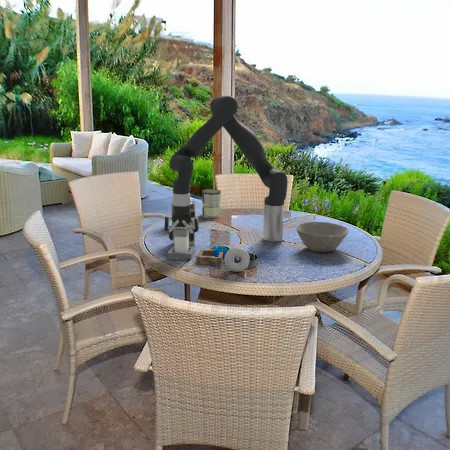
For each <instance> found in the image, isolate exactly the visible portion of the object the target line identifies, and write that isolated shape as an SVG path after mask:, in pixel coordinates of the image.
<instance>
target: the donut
mask: <svg viewBox="0 0 450 450" xmlns="http://www.w3.org/2000/svg"><path fill="white" fill-rule="evenodd" d="M234 257H239V258H240V262H238V263H237V262H235V261H234V260H233V259H234ZM223 260H224V264H225V266H226V268H227V269H228V270H230V271H232V272H236V273H238V272H242V271H244V270H246V269H247V267H249V264H250V261H251V260H250V255H249V253H248V251H247V250H246V249H245V248H243V247H239V246H236V247H232V248H230V249H228V250H227V251H226V253H225V254H224V258H223Z"/></svg>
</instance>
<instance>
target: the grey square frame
mask: <svg viewBox="0 0 450 450" xmlns="http://www.w3.org/2000/svg"><path fill="white" fill-rule="evenodd" d="M194 253H195V254H196V246H189V253H181V252H175V245H172V246H171V247H170V249H169V250H168V252H167V259H168V258H178V259H177V260H184V259H191V260H193V257H194V256H195V254H194ZM193 255H194V256H193Z"/></svg>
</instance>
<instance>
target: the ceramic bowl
mask: <svg viewBox="0 0 450 450" xmlns="http://www.w3.org/2000/svg"><path fill="white" fill-rule="evenodd" d="M296 232H297V234H298V237H299V238H300V240H301V241H302V244H304V246H305V247H306V248H307V249H308V250H310V251H312V252H315V253H329V252H333V251H335V250H336V249H337V248H338V247H339V246H340V244H341V243H342V242H343V241H344V239H346V237H347V235H348V234H349V232H350V229H349V228H348V227H346V226H343V225H341V224H337V223H333V222H326V221H309V222H303V223H300V224H298V225H297V226H296Z"/></svg>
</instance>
